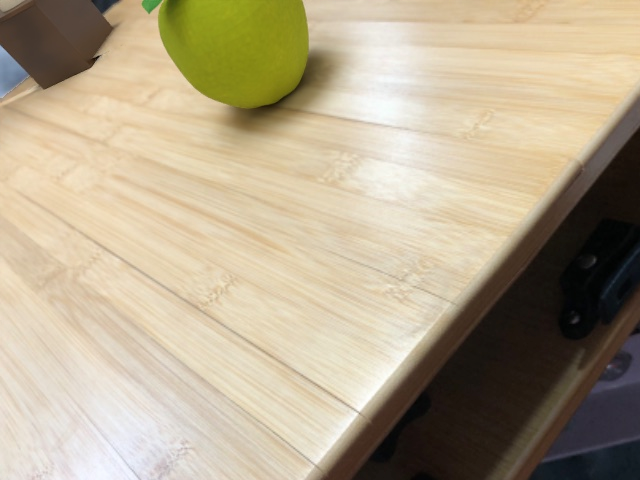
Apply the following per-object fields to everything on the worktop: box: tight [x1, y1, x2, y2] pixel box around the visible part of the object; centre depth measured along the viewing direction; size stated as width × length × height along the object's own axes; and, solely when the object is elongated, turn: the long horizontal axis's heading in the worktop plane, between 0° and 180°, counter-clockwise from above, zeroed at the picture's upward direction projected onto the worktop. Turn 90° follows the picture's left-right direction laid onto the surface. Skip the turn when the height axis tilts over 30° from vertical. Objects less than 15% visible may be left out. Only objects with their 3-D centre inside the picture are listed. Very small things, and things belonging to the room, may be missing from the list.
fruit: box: [141, 0, 310, 109], centre depth 41 cm, size 9×9×10 cm
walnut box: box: [0, 0, 114, 90], centre depth 70 cm, size 8×8×8 cm
